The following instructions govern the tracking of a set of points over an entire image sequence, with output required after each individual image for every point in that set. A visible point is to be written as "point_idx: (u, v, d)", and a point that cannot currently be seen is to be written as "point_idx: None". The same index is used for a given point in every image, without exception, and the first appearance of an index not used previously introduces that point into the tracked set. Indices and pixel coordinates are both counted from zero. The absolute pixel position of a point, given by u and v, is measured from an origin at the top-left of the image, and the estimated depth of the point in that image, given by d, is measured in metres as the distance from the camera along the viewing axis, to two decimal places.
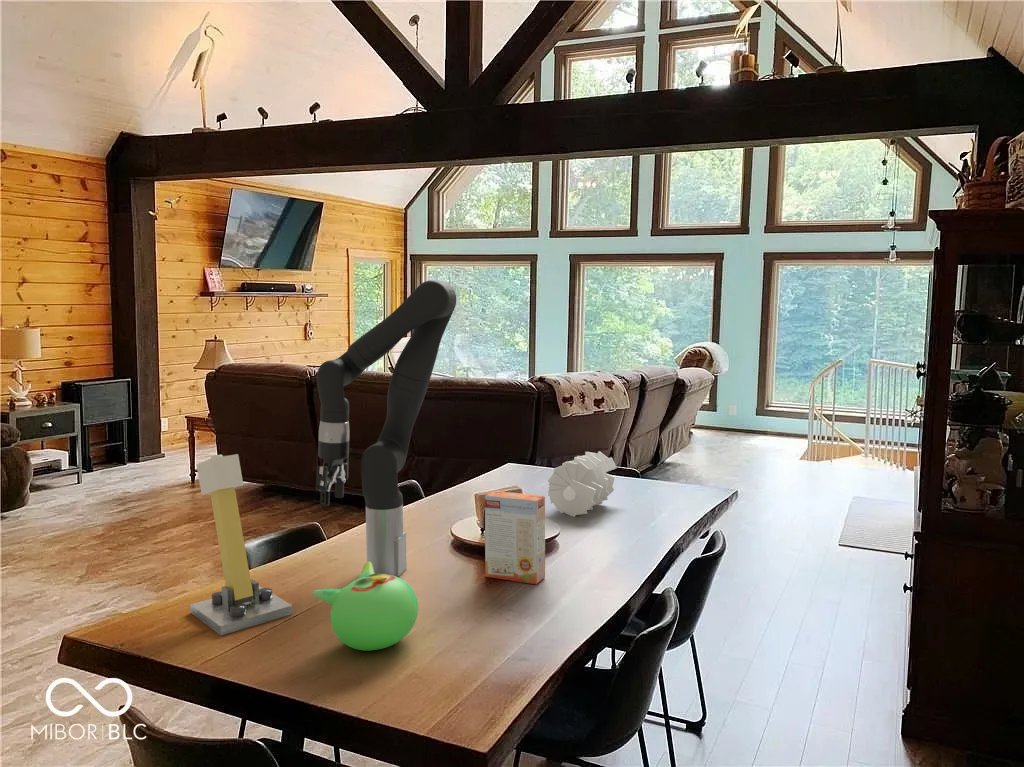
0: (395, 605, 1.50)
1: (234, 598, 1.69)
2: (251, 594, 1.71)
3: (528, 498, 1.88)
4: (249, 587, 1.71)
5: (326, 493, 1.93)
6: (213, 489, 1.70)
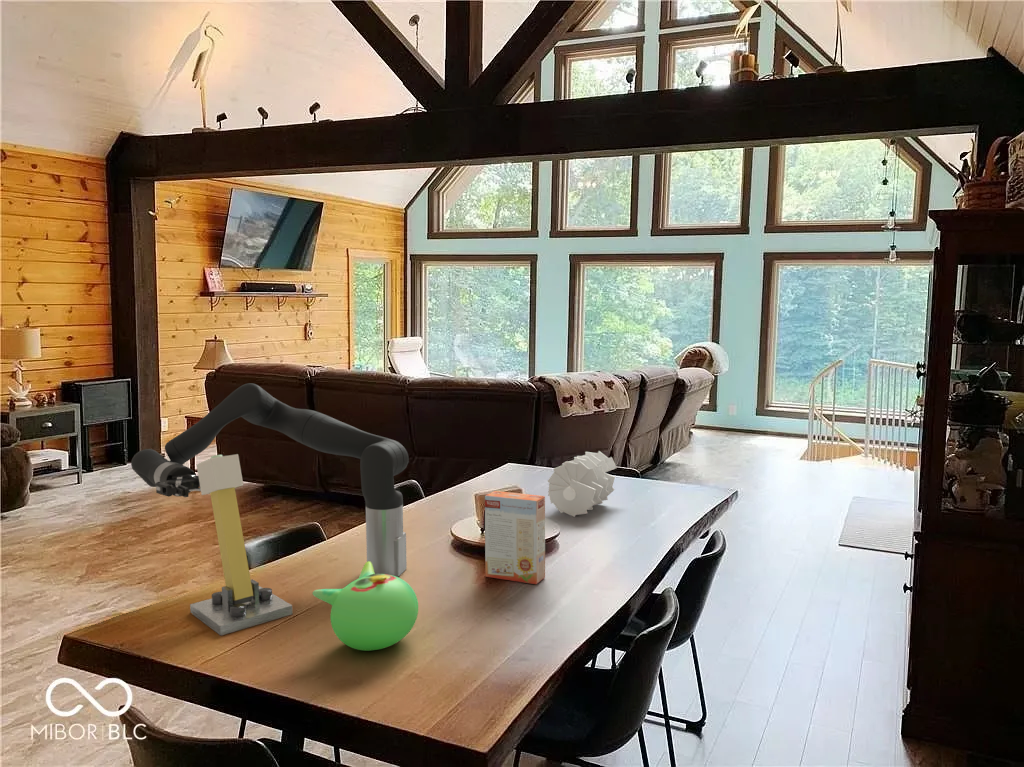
0: (395, 605, 1.50)
1: (234, 598, 1.69)
2: (251, 594, 1.71)
3: (528, 498, 1.88)
4: (249, 587, 1.71)
5: (178, 487, 1.83)
6: (213, 489, 1.70)
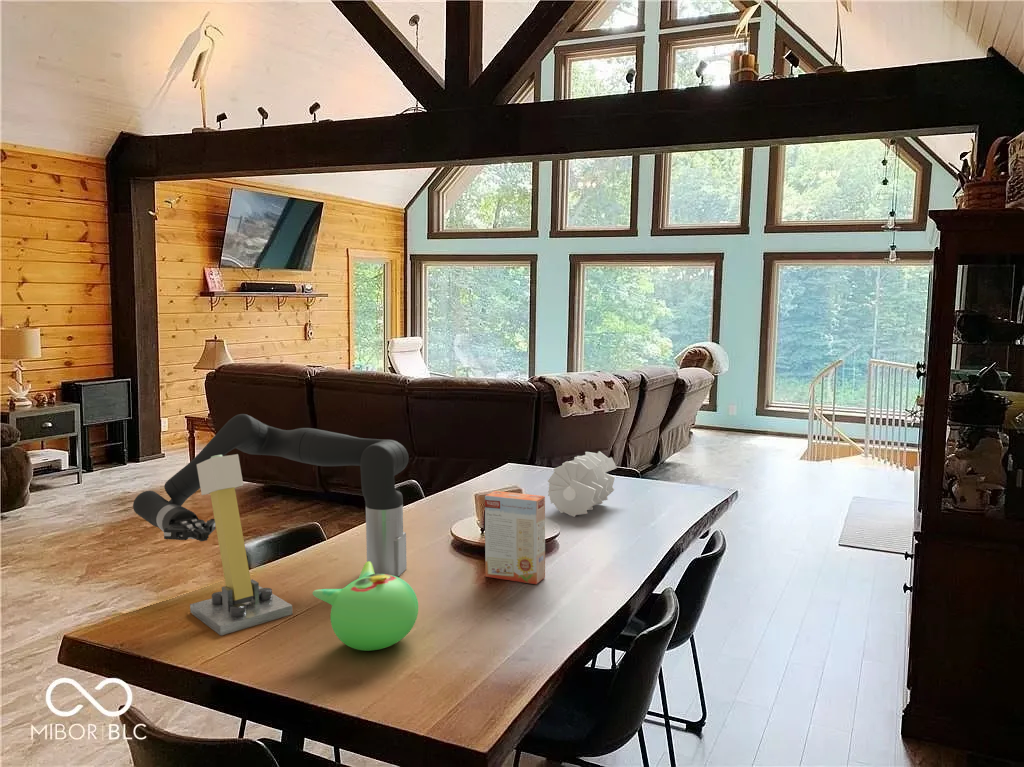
0: (395, 605, 1.50)
1: (234, 598, 1.69)
2: (251, 594, 1.71)
3: (528, 498, 1.88)
4: (249, 587, 1.71)
5: (194, 531, 1.85)
6: (213, 489, 1.70)
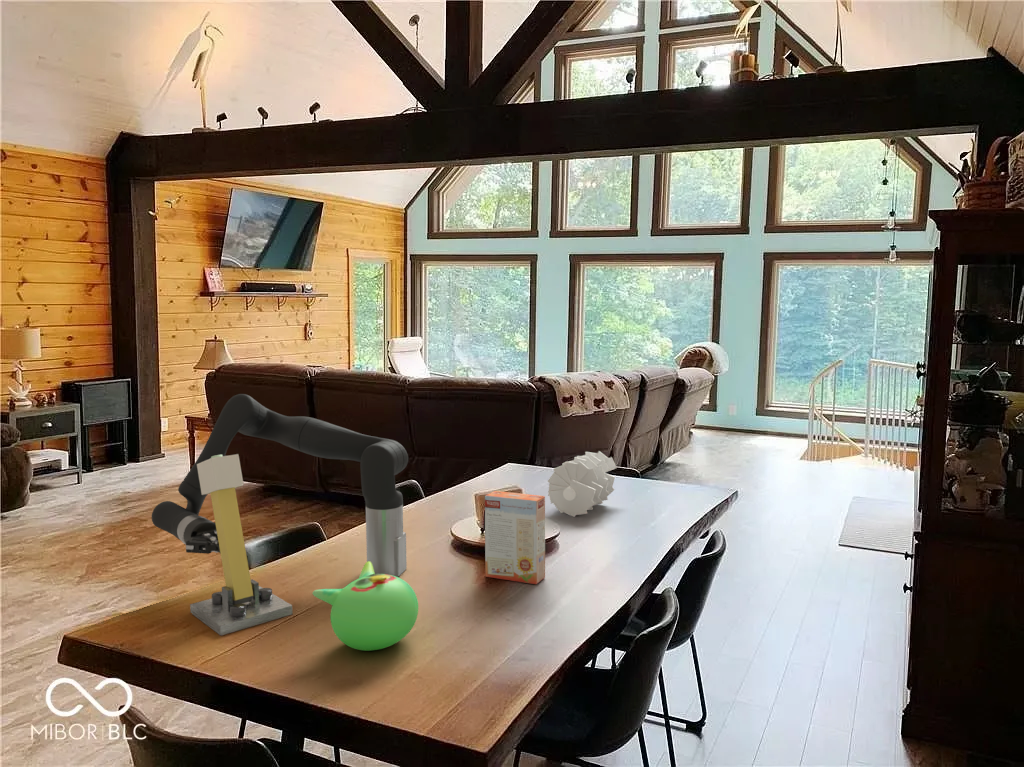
0: (395, 605, 1.50)
1: (234, 598, 1.69)
2: (251, 594, 1.71)
3: (528, 498, 1.88)
4: (249, 587, 1.71)
5: (217, 544, 1.76)
6: (213, 489, 1.70)
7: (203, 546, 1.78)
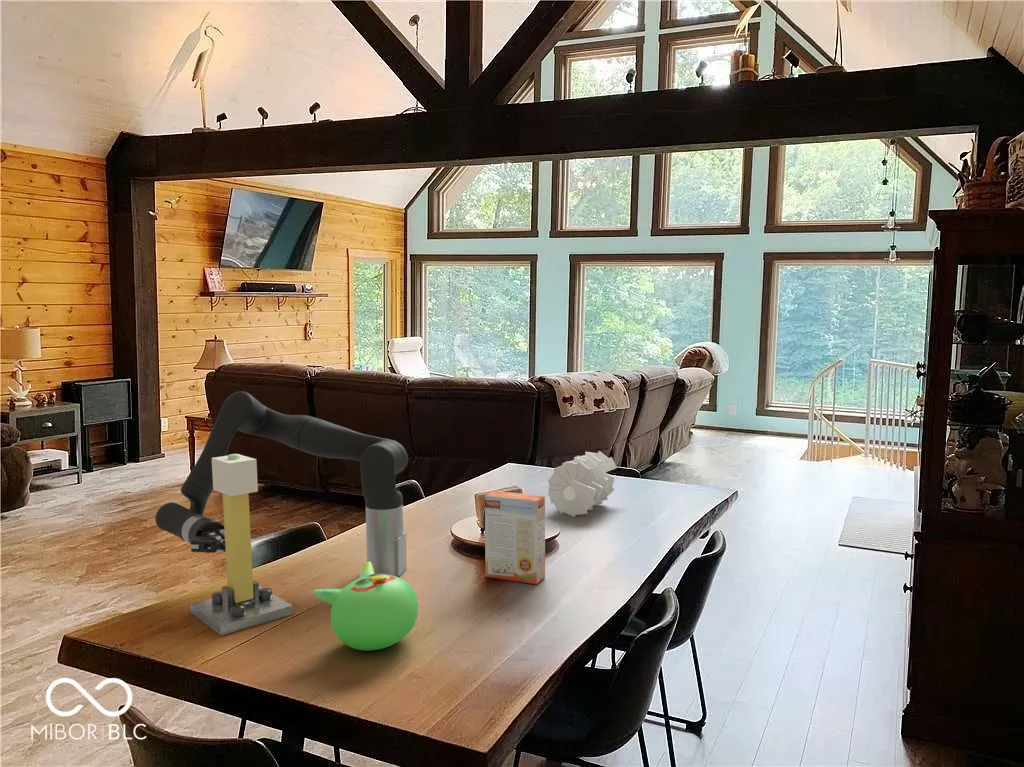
0: (395, 605, 1.50)
1: (234, 600, 1.69)
2: (251, 597, 1.71)
3: (528, 498, 1.88)
4: (250, 590, 1.70)
5: (223, 543, 1.73)
6: (227, 493, 1.65)
7: (208, 545, 1.76)
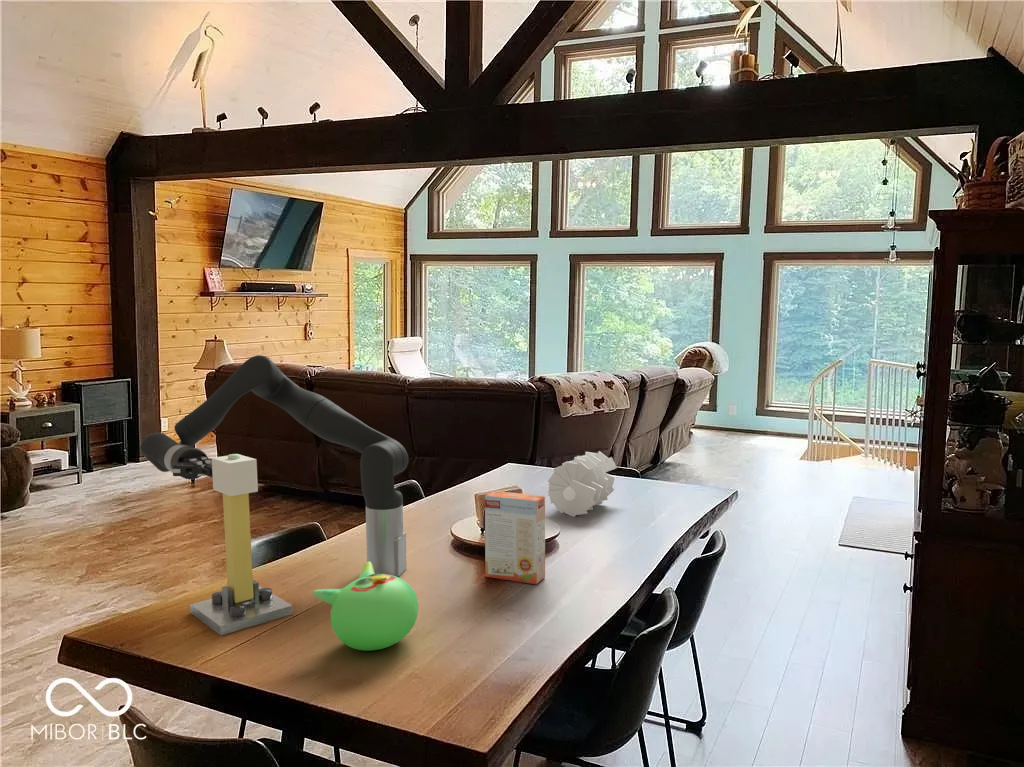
0: (395, 605, 1.50)
1: (234, 600, 1.69)
2: (251, 597, 1.71)
3: (528, 498, 1.88)
4: (250, 590, 1.70)
5: (204, 467, 1.78)
6: (227, 493, 1.65)
7: (190, 470, 1.80)
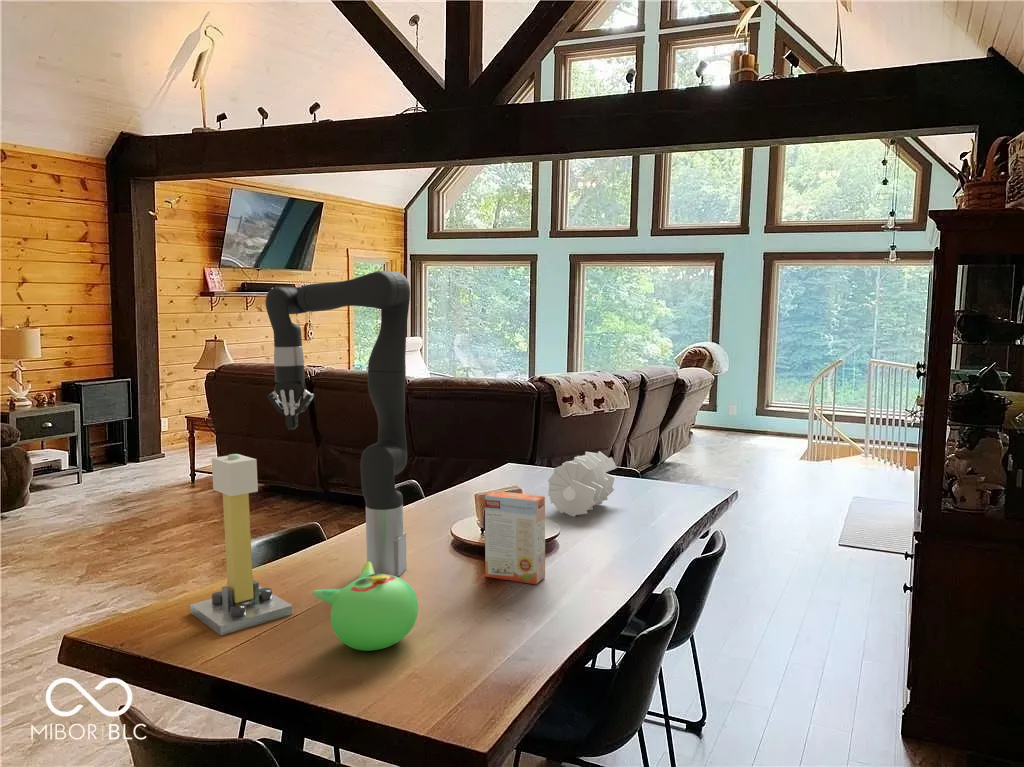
0: (395, 605, 1.50)
1: (234, 600, 1.69)
2: (251, 597, 1.71)
3: (528, 498, 1.88)
4: (250, 590, 1.70)
5: (286, 416, 2.06)
6: (227, 493, 1.65)
7: None
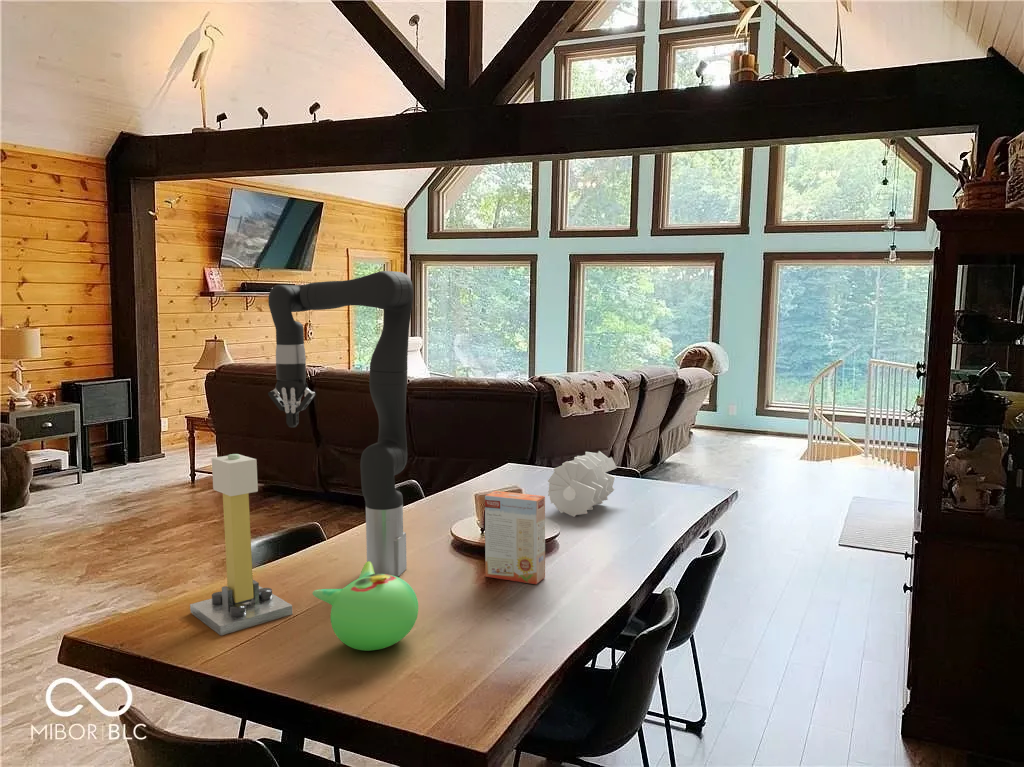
0: (395, 605, 1.50)
1: (234, 600, 1.69)
2: (251, 597, 1.71)
3: (528, 498, 1.88)
4: (250, 590, 1.70)
5: (287, 414, 2.06)
6: (227, 493, 1.65)
7: None
